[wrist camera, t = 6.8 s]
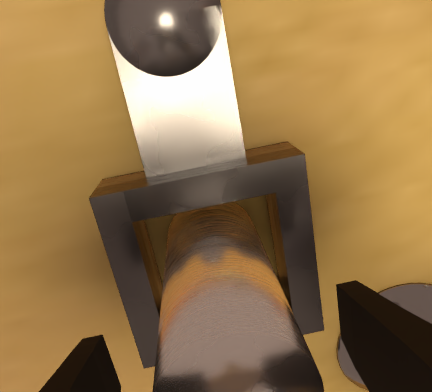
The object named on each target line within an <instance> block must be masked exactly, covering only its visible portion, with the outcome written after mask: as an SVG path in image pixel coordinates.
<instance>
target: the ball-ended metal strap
mask: <svg viewBox="0 0 432 392" xmlns="http://www.w3.org/2000/svg"><path fill="white" fill-rule="evenodd" d="M104 12H105V21H106V26H107V30H108V34H109V38H110V42H111V45H112V49H113V53H114V57H115V61H116V64H117V68H118V72H119V76H120V80H121V83H122V87H123V91H124V95H125V99H126V102H127V106H128V110H129V114H130V118H131V121H132V125H133V129H134V133H135V137H136V140H137V144H138V148H139V152H140V156H141V159H142V163H143V167H144V171H141V172H136V173H131V174H127V175H122V176H117V177H112V178H107V179H102V181H101V182H100V184H99V185H98V186H97V188H96V189H95V190H94V192H93V193H92V195H91V196H90V197H89V200H90V203H91V206H92V209H93V212H94V216H95V219H96V222H97V225H98V228H99V231H100V234H101V237H102V240H103V243H104V246H105V250H106V253H107V256H108V259H109V262H110V265H111V268H112V271H113V274H114V277H115V280H116V283H117V287H118V290H119V293H120V296H121V299H122V302H123V305H124V308H125V311H126V314H127V317H128V321H129V324H130V327H131V330H132V333H133V336H134V339H135V342H136V345H137V348H138V351H139V354H140V358H141V361H142V364H143V367H144V368H149V367H153V366H155V363H156V353H157V342H158V332H159V321H160V311H161V300H162V290H163V286H162V282H161V278H160V275H159V271H158V268H157V264H156V260H155V257H154V253H153V249H152V246H151V242H150V238H149V235H148V231H147V228H146V224H145V220H146V219H150V218H155V217H160V216H165V215H170V214H175V213H180V212H184V211H189V210H194V209H199V208H204V207H209V206H214V205H218V204H223V203H228V202H233V201H238V200H243V199H248V198H252V197H257V196H262V195H266V198H267V205H268V212H269V218H270V225H271V231H272V238H273V245H274V251H275V258H276V264H277V271H278V278H279V283H280V285H281V288H282V290H283V292H284V294H285V297H286V299H287V301H288V303H289V306H290V308H291V310H292V312H293V315H294V317H295V319H296V321H297V324H298V326H299V328H300V330H301V333H302V335H304V334H309V333H313V332H318V331H323V330H324V325H323V316H322V307H321V298H320V289H319V279H318V270H317V261H316V252H315V243H314V234H313V225H312V215H311V206H310V197H309V188H308V179H307V170H306V161H305V154H304V153H303V152H301V151H300V150H298V149H297V148H296V147H294V146H293V145H291V144H290V143H289V142H283V143H278V144H274V145H269V146H264V147H259V148H254V149H249V150H245V148H244V142H243V136H242V130H241V124H240V118H239V112H238V106H237V100H236V94H235V88H234V82H233V76H232V70H231V64H230V57H229V51H228V45H227V39H226V33H225V27H224V21H223V15H222V9H221V3H220V0H105V8H104Z"/></svg>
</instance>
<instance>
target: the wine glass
mask: <svg viewBox="0 0 432 392" xmlns="http://www.w3.org/2000/svg"><path fill="white" fill-rule="evenodd" d="M378 294H380V295H381V296H383V297H385V298H387V299H388V300H390V301H392V302H393V303H395V304H397V305H398V306H400V307H402V308H404V309H406V310H407V311H409V312H411V313H413V314H414V315H416V316H418V317H420V318H422V319H424V320H426V321H428V322H429V323H431V324H432V285H430V284H423V283H409V284H403V285H398V286H394V287H391V288H388V289H385V290H383V291H381V292H379V293H378ZM337 359H338V362H339V366H340V368H341V369H342V371H343V373H344V375H345V376H346V377H347V378H348V379H349V380H350V381H351V382H353V383H354V384H356V385H357V386H359V387H361V388H363V389H365V390H368V389H367V387H366V386H365V384H364V382H363V381H362V379H361V377H360V376H359V374H358V372H357V371H356V369H355V367H354V365H353V363H352V361H351V359H350V357H349V355H348V352H347V350H346V348H345V346H344V344H343V341H342V339H341V333H340V335H339V338H338V344H337ZM368 391H369V390H368Z"/></svg>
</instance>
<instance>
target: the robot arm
mask: <svg viewBox="0 0 432 392" xmlns="http://www.w3.org/2000/svg"><path fill="white" fill-rule="evenodd" d="M336 287H337V298H338V309H339V320H340V331H341V339H342V341H343V344H344V346H345V348H346V350H347V352H348V355H349V357H350V359H351V361H352V363H353V365H354V367H355V369H356V371H357V372H358V374H359V376H360V377H361V379H362V381H363V382H364V384H365V386H366V387H367V389H368V390H369V392H432V324H431V323H429V322H428V321H426V320H424V319H422V318H420V317H418V316H416V315H414V314H413V313H411V312H409V311H407V310H406V309H404V308H402V307H400V306H398V305H397V304H395V303H393V302H392V301H390V300H388V299H387V298H385V297H383V296H381V295H380V294H378V293H376V292H375V291H373V290H371V289H370V288H368V287H366V286H365V285H363V284H361V283H360V282H358V281H356V280H355V281H351V282H346V283H341V284H337V285H336ZM39 392H121V385H120V382H119V379H118V376H117V374H116V371H115V368H114V365H113V362H112V360H111V357H110V354H109V351H108V348H107V346H106V343H105V340H104V337H103V335H98V336H94V337H89V338H84V339H82V340H81V341H80V342H79V344H78V345H77V346H76V347H75V348H74V349H73V351H72V352H71V353H70V354H69V356H68V357H67V358H66V359H65V361H64V362H63V363H62V364H61V366H60V367H59V368H58V369H57V370H56V372H55V373H54V374H53V375H52V377H51V378H50V379H49V380H48V381H47V383H46V384H45V385H44V386H43V387H42V389H41V390H40V391H39Z"/></svg>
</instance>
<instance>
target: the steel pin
mask: <svg viewBox="0 0 432 392" xmlns="http://www.w3.org/2000/svg"><path fill="white" fill-rule="evenodd" d="M153 392H324V387H323V382H322V378H321V376H320V373H319V371H318V368H317V366H316V364H315V362H314V359H313V357H312V355H311V353H310V350H309V348H308V346H307V344H306V342H305V339H304V337H303V335H302V333H301V330H300V328H299V326H298V324H297V321H296V319H295V317H294V315H293V312H292V310H291V308H290V306H289V303H288V301H287V299H286V297H285V294H284V292H283V290H282V288H281V285H280V283H279V281H278V279H277V276H276V274H275V272H274V270H273V267H272V265H271V263H270V261H269V259H268V256H267V254H266V252H265V250H264V247H263V245H262V243H261V241H260V238H259V236H258V234H257V232H256V229H255V227H254V225H253V223H252V220H251V218H250V217H249V215H248V214H247V212H246V211H245V210H244V209H243V208H242V207H241V206H239V205H238V204H236V203H235V202H228V203H223V204H218V205H214V206H209V207H204V208H199V209H194V210H189V211H184V212H180V213H177V214H176V215H175V216H174V218H173V220H172V221H171V224H170V226H169V230H168V237H167V248H166V258H165V269H164V279H163V290H162V300H161V311H160V321H159V332H158V342H157V353H156V363H155V374H154V384H153Z"/></svg>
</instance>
